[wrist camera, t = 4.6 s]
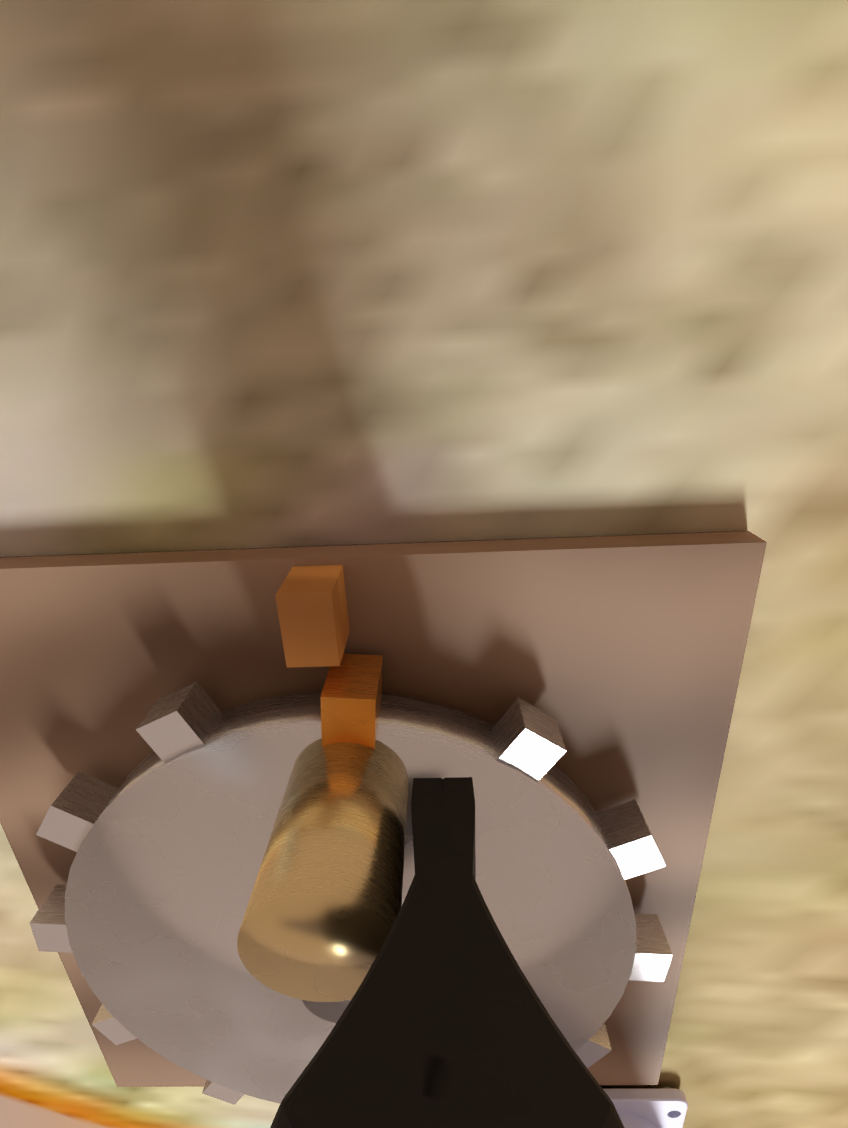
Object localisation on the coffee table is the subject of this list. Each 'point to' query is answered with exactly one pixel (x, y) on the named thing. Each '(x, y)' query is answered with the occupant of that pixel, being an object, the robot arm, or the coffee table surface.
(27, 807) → the walnut board
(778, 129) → the coffee table surface
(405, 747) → the sprocket wheel
